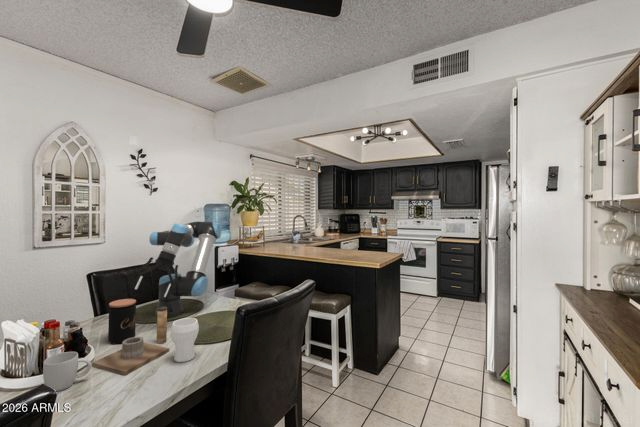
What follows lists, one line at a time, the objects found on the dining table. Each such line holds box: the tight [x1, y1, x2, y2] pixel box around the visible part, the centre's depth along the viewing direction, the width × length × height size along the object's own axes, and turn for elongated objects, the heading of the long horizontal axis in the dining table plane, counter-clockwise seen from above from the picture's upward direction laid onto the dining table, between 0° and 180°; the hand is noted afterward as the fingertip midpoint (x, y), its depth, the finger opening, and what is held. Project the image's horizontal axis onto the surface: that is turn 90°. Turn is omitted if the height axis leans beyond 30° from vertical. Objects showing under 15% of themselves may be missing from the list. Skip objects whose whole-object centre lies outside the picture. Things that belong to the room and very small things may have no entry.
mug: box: [42, 351, 92, 392], centre depth 100 cm, size 13×9×10 cm
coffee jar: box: [107, 298, 137, 345], centre depth 136 cm, size 11×11×18 cm
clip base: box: [91, 336, 170, 376], centre depth 119 cm, size 20×18×8 cm
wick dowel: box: [156, 307, 168, 345], centre depth 135 cm, size 4×4×16 cm
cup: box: [170, 317, 200, 363], centre depth 121 cm, size 11×11×15 cm
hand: (150, 293), depth 143 cm, fingers open, 13 cm apart
